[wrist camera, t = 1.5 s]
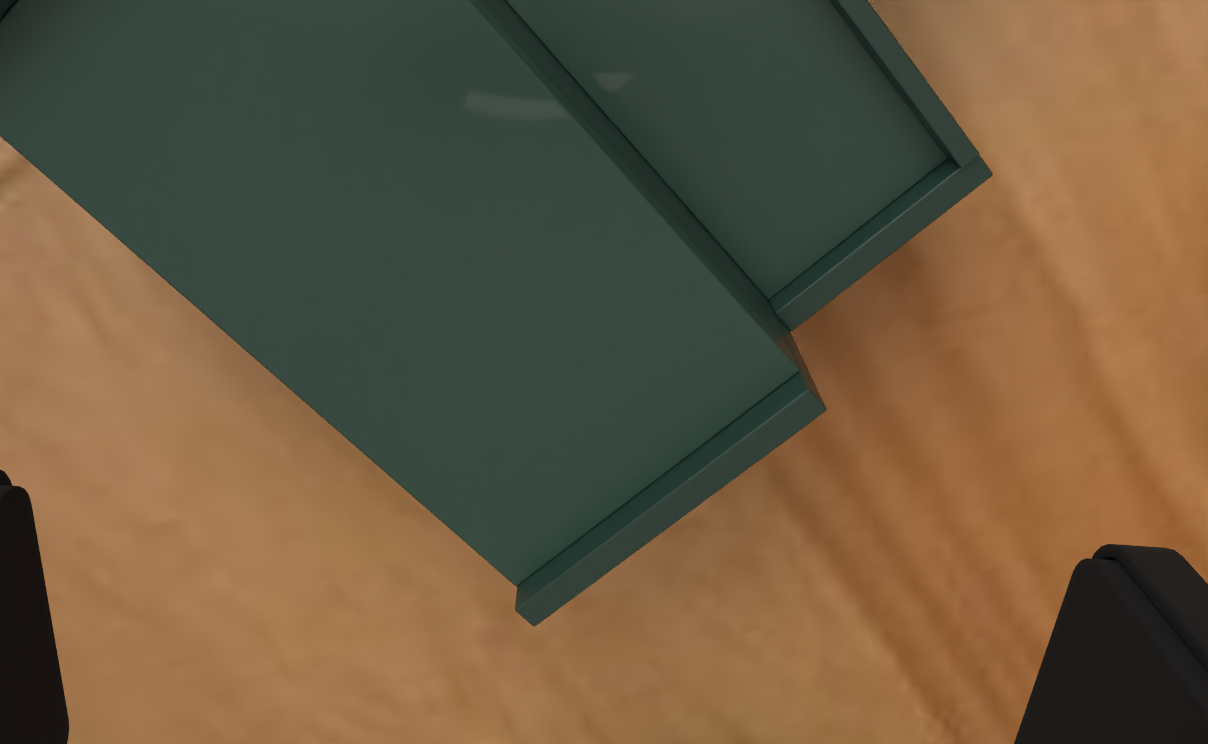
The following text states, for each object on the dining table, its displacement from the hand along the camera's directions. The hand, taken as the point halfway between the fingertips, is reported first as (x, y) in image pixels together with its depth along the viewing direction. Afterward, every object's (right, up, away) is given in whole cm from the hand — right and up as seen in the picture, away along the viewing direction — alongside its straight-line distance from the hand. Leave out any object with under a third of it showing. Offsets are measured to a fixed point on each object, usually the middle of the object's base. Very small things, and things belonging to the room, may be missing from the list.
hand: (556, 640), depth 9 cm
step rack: (-2, +12, +23) cm, 26 cm away
